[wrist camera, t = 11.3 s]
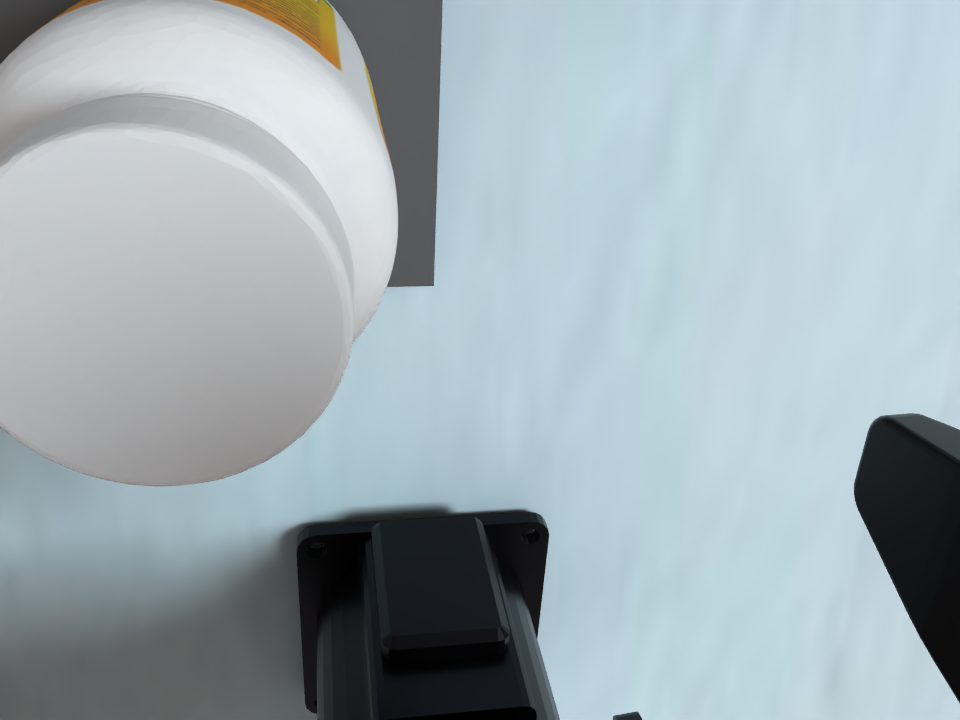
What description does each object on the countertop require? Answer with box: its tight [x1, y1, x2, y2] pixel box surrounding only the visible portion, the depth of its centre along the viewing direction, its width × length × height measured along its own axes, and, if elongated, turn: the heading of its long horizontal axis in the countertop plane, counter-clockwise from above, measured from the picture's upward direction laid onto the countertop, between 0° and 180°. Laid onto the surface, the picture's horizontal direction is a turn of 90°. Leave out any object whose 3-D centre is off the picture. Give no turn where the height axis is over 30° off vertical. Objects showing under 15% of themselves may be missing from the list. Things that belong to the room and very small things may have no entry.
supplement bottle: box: [0, 0, 398, 486], centre depth 13 cm, size 5×5×10 cm
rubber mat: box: [0, 0, 442, 287], centre depth 18 cm, size 8×8×1 cm
